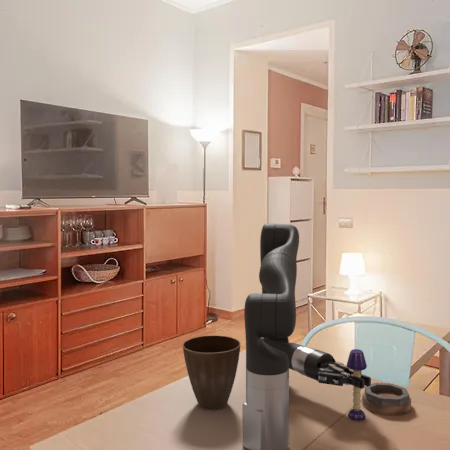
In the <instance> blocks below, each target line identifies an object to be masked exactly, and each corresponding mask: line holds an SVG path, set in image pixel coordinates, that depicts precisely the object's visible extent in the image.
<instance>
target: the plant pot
mask: <svg viewBox="0 0 450 450" xmlns="http://www.w3.org/2000/svg"><path fill="white" fill-rule="evenodd" d="M182 351H183V355H184V356H183V357H184V362H185V367H186V371H187V375H188V379H189V381H190V386H191V388H192V391H193V394H194V396H195V400H196V401H197V404H198V406H199V407H200V408H202V409H205V410H214V411H215V410H219V409H223V408H225V407H226V406H227V405H228V402H229V399H230V397H231V394H232V390H233V387H234V382H235V381H236V375H237V372H238V371H237V370H238V367H239V366H238V365H239V360H240V353H241V341H239V340H238V338H235V337H230V336H224V335H203V336H202V335H201V336H196V337H192V338H189V339H187V340H185V341H184V342H183V343H182Z"/></svg>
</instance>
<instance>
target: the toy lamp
mask: <svg viewBox="0 0 450 450" xmlns="http://www.w3.org/2000/svg"><path fill="white" fill-rule="evenodd" d="M346 365H347V367H348V368H349V369H352V370H353V372H354V375H353V376H356V377H359V378H361V375H360V373H361V374H362V372H361V370H362V371H364V370H366V369H367V366H368V365H367V361H366V358H365V354H364V351H363V350H362V349H358V348H357V349H356V348H354V349H351V350H350V352H349V355H348V358H347V363H346ZM361 390H362V389H360V388H358V387H355V386H352V391H353V392H352V397H353V400H352V408H351V409H350V410H349V411H348V413H347V418H348V419H349V420H352V421H353V422H363V421H365V420H366V419H367V417H366V414H365V412H364V410H362V409H361V403H362V400H361V397H362V394H361Z"/></svg>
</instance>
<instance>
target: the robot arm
mask: <svg viewBox="0 0 450 450" xmlns="http://www.w3.org/2000/svg"><path fill="white" fill-rule="evenodd" d="M259 239H260V240H259V241H260V242H259V249H260V250H259V251H260V252H259V253H260V254H259V255H260V267H259V272H258V273H259V275H258V279H259V283H260V285H261V293H255V292H254V293H250V294H248V295H247V297H246V299H245V300H244V301H245V303H244V311H243V312H244V315H243V316H244V329H245V331H244V332H245V402H243V403H242V405H241V406H242V416H241V417H242V447H244V448H246V449H247V450H289V447H290V446H289V445H290V415H289V414H290V411H289V410H290V370H292V371H294V372H297V373H298V374H300V375H302V376H305V377H307V378H309V379H311V380H314V381H316V382H318V384H323V385H324V384H325V385H330V386H331V385H332V386H339V387H343V386H344V385H345V386H352V387H354V386H355V387H358V388H360V389H361V390H363V389H365V386H370V385H371V384H372V378H371V377H370V376H368V375H366V374H363V373H362V371H363V370H361V373H360V375H361V378H359V377H356V376H353V375H354V372H353V370H352V369H349V368H348V367H347V364H344V363H343V362H340V361H336V359H335V358H334V356H333V355H332V354H331V353H330V352H329V353H328V352H325V351H322V350H320V349H317V348H314V347H310V346H304V345H301V344H300V343H299V344H298V343H294V342H290V341H289V337H290V336H292V334H293V333H294V331H295V329H296V323H297V307H296V305H297V304H296V283H297V274H298V273H297V272H298V270H297V269H298V267H297V266H298V265H297V263H298V262H297V257H298V251H299V246H300V245H299V244H300V232H299V230H298V228H297V227H296V226H295V225H294V224H288V223H287V224H286V223H284V224H283V223H268V222H267V223H264V225H263V226H262V228H261V232H260V238H259Z"/></svg>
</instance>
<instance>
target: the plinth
mask: <svg viewBox="0 0 450 450" xmlns="http://www.w3.org/2000/svg"><path fill="white" fill-rule="evenodd" d="M361 403H362V406H363V407H364V408H365V409H366V410H368V411H370V412H372V413H375V414H379V415H383V416H403V415H407V414H408V413H409V412H411V410H412V399H411V397H410V394H409V392H408V390H407V388H406V387H403V386H399V385H397V384H394V383H390V382H389V383H387V382H386V383H385V382H373V383H371V385H370V386H365V387H364V392H363V393H362V394H361Z"/></svg>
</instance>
